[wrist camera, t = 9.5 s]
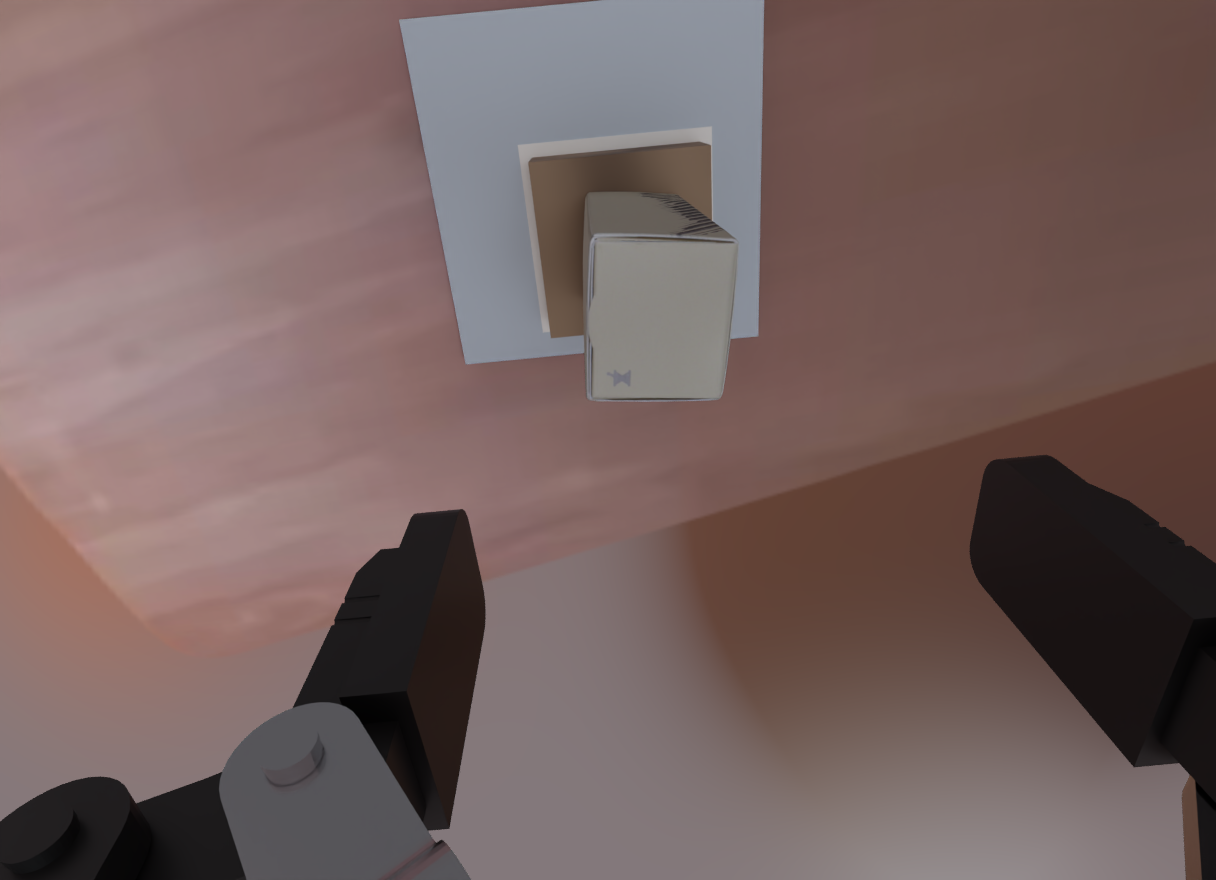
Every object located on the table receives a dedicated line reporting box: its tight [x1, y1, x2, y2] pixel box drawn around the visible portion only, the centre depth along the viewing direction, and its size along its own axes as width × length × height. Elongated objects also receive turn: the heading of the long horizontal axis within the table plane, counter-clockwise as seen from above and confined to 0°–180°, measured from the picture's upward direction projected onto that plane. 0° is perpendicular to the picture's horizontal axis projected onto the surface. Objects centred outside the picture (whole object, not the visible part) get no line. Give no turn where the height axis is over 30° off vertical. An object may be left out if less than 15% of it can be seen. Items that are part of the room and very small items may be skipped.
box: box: [583, 192, 739, 402], centre depth 25 cm, size 5×4×13 cm
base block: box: [528, 141, 712, 338], centre depth 32 cm, size 8×8×3 cm
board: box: [399, 0, 764, 364], centre depth 33 cm, size 16×16×1 cm
